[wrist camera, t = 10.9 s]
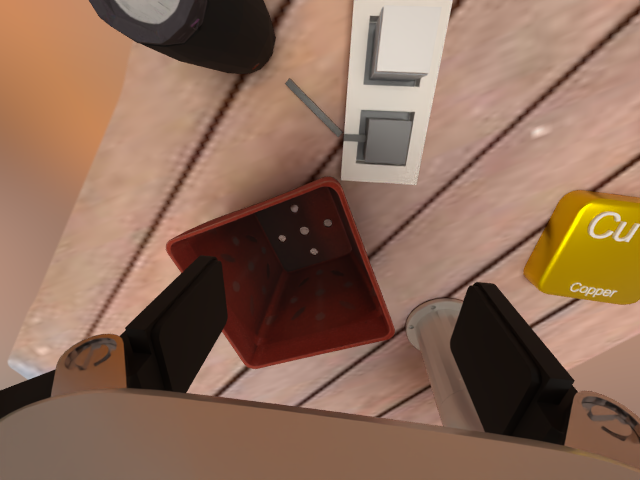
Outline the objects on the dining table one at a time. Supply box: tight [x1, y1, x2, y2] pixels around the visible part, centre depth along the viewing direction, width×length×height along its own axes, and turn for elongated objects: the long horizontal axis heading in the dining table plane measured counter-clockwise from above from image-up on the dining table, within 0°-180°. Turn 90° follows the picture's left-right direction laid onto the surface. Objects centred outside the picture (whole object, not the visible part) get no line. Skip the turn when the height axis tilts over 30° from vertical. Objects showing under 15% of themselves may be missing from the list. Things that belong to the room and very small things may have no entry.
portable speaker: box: [89, 0, 276, 74], centre depth 25 cm, size 9×9×20 cm
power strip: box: [286, 0, 453, 185], centre depth 32 cm, size 18×20×7 cm
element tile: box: [524, 190, 640, 305], centre depth 39 cm, size 15×15×5 cm
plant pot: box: [166, 177, 395, 369], centre depth 37 cm, size 19×19×17 cm
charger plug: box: [369, 5, 442, 82], centre depth 29 cm, size 5×5×9 cm
